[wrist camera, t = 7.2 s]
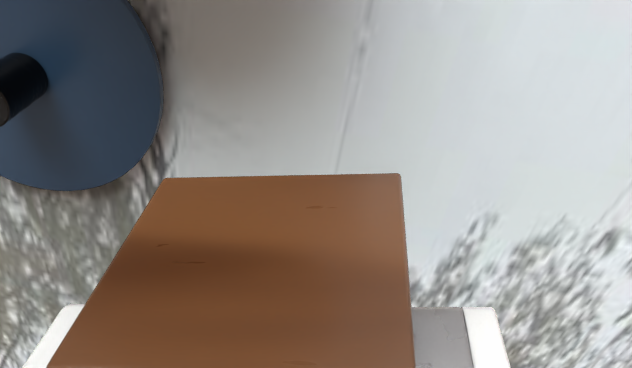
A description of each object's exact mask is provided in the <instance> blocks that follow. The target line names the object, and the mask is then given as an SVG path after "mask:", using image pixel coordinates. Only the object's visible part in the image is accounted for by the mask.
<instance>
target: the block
mask: <svg viewBox="0 0 632 368" xmlns="http://www.w3.org/2000/svg"><path fill="white" fill-rule="evenodd" d="M46 368H416V360H415V347H414V334H413V322H412V309H411V296H410V284H409V271H408V259H407V246H406V233H405V221H404V208H403V195H402V183H401V176H400V174H398V173H387V174H338V175H288V176H239V177H190V178H165V179H163V181H162V182H161V184H160V186H159V187H158V189H157V190H156V192H155V193H154V195H153V197H152V198H151V200H150V201H149V203H148V205H147V206H146V208H145V209H144V211H143V213H142V214H141V216H140V217H139V219H138V221H137V222H136V224H135V225H134V227H133V229H132V230H131V232H130V233H129V235H128V237H127V238H126V240H125V241H124V243H123V245H122V246H121V248H120V249H119V251H118V253H117V254H116V256H115V257H114V259H113V261H112V262H111V264H110V265H109V267H108V269H107V270H106V272H105V273H104V275H103V276H102V278H101V280H100V281H99V283H98V284H97V286H96V288H95V289H94V291H93V292H92V294H91V296H90V297H89V299H88V300H87V302H86V304H85V305H84V307H83V308H82V310H81V312H80V313H79V315H78V316H77V318H76V320H75V321H74V323H73V324H72V326H71V328H70V329H69V331H68V332H67V334H66V336H65V337H64V339H63V340H62V342H61V344H60V345H59V347H58V348H57V350H56V352H55V353H54V355H53V356H52V358H51V360H50V361H49V363H48V364H47V367H46Z"/></svg>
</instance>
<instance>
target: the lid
mask: <svg viewBox="0 0 632 368" xmlns="http://www.w3.org/2000/svg"><path fill="white" fill-rule="evenodd" d="M163 100H164V99H163V81H162V76H161V70H160V65H159V62H158V59H157V55H156V52H155V49H154V46H153V44H152V42H151V40H150V37H149V35H148V33H147V31H146V29H145V27H144V25H143V24H142V22H141V20H140V18H139V17H138V15H137V13H136V12H135V10H134V9H133V8H132V6H131V5H130V4H129V2H128V1H127V0H0V176H2V177H5V178H7V179H9V180H12V181H15V182H18V183H21V184H24V185H28V186H32V187H36V188H40V189H47V190H55V191H75V190H85V189H90V188H94V187H99V186H101V185H104V184H107V183H109V182H112V181H114V180H115V179H117V178H119V177H121V176H123V175H124V174H125V173H127V172H128V171H129V170H131V169H132V168H133V167H134V166H135V165H136V164H137V163H138V162H139V161H140V160H141V159H142V157H143V156H144V155H145V153H146V152H147V150H148V149H149V147H150V146H151V144H152V143H153V140H154V138H155V136H156V134H157V131H158V129H159V125H160V121H161V117H162V110H163Z"/></svg>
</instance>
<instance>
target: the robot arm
mask: <svg viewBox="0 0 632 368" xmlns="http://www.w3.org/2000/svg"><path fill="white" fill-rule="evenodd" d="M84 305H85V304H72V303H70V304H69V305H67V306H66V307H64V308H62V310H61V311H60V312H59V314H58V315H57V317H56V318H55V320H54V321H53V323H52V324H51V326H50V327H49V329H48V330H47V332H46V333H45V335H44V336H43V338H42V339H41V341H40V342H39V343H38V345H37V346H36V348H35V349H34V351H33V352H32V354H31V355H30V357H29V358H28V360H27V361H26V363H25V364H24V366H23V367H22V368H46V367H47V364H48V363H49V361H50V360H51V358H52V356H53V355H54V353H55V352H56V350H57V348H58V347H59V345H60V344H61V342H62V340H63V339H64V337H65V336H66V334H67V332H68V331H69V329H70V328H71V326H72V324H73V323H74V321H75V320H76V318H77V316H78V315H79V313H80V312H81V310H82V308H83V307H84ZM411 309H412V322H413V334H414V347H415V360H416V368H511V367H510V363H509V360H508V356H507V352H506V348H505V345H504V341H503V337H502V333H501V330H500V326H499V322H498V318H497V314H496V311H495V310H494V309H493V308H492V307H461V308H460V307H411Z"/></svg>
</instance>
